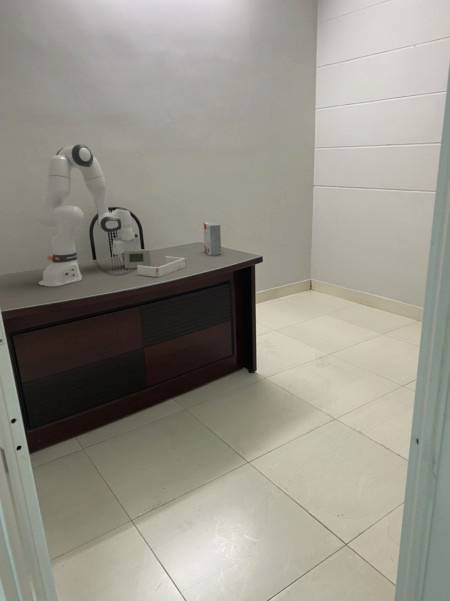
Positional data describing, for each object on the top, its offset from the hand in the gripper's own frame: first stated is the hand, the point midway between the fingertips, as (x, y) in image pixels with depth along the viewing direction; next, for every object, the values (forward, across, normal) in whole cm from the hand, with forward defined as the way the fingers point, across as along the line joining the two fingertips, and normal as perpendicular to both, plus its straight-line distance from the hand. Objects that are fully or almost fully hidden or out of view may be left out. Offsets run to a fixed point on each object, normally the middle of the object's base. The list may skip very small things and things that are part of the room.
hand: (127, 259), depth 252 cm
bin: (+4, 0, -26) cm, 26 cm away
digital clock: (+4, 0, -9) cm, 10 cm away
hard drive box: (+4, +52, -28) cm, 59 cm away
